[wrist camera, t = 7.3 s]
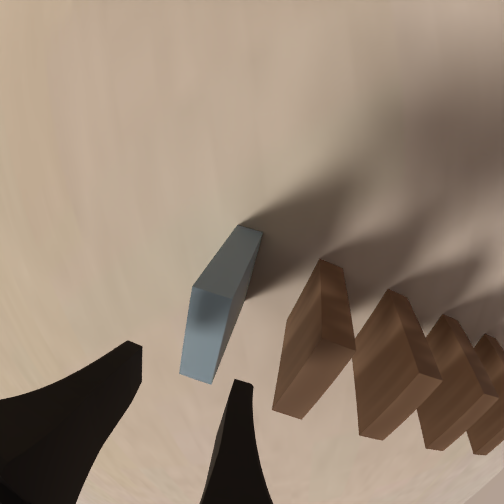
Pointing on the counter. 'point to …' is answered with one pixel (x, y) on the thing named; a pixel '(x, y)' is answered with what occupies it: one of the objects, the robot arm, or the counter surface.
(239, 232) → the domino
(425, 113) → the counter surface
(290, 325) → the domino
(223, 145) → the counter surface
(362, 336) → the domino
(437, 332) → the domino
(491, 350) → the domino
